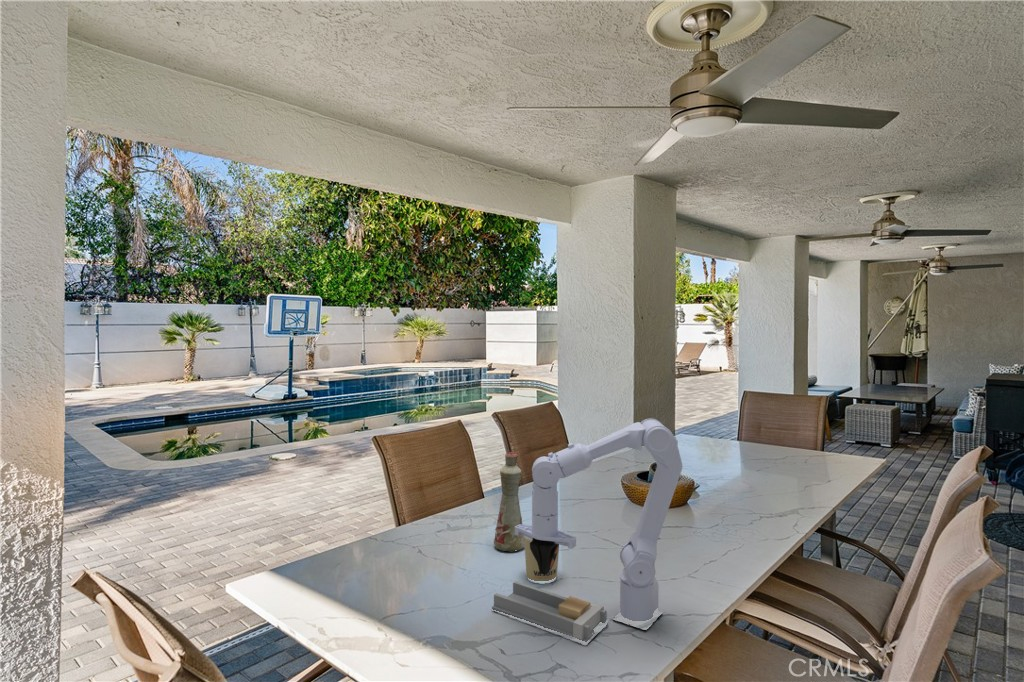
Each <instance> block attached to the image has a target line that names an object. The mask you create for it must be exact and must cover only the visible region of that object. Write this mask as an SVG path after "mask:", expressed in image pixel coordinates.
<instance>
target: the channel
mask: <svg viewBox="0 0 1024 682" xmlns="http://www.w3.org/2000/svg"><path fill="white" fill-rule="evenodd" d="M567 598H568V597H566V596H563V595H559V594H556V593H554V592H551V591H547V590H545V589H541V588H539V587H535V586H532V585H529V584H526V583H522V582H520V581H517V580H515V581H513V582H512V593H510V594H509V595H507V596H506V595H503V594H501V593H498V592H496V593H494V594H493V605H492V606H491V610H492V609H493V610H496V611H499V612H503V613H505V614H508V615H512V616H514V617H517V618H520V619H524V620H526V621H529V622H531V623H535V624H537V625H540V626H543V627H544V628H548V629H551V630H554V631H557V632H560V633H563V634H566V635H569V636H572V637H575V638H577V639H579V640H582V641H585V642H587V641H588V640H589V639H590V638H591V637H592V636H593V634H595V633H594V630H593V629H594V628H595V627H596V626H597V625H598V624H599V623H600V622H602V623H605V622H606V620H608V619H607V615H608V614H607V610H605V605H603V604H601V603H596V602H595V603H594V604H593V605H591V604H590V608H589V609H588V610H587V611H586V612H585V613H584V614H582V615H581V616H580V617H579V618H578V619H577V620H573V619H570V618H567V617H564V616H561V615H558V614H559V604H561V603H562V602H563V601H565V600H566V599H567ZM592 633H593V634H592Z"/></svg>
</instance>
